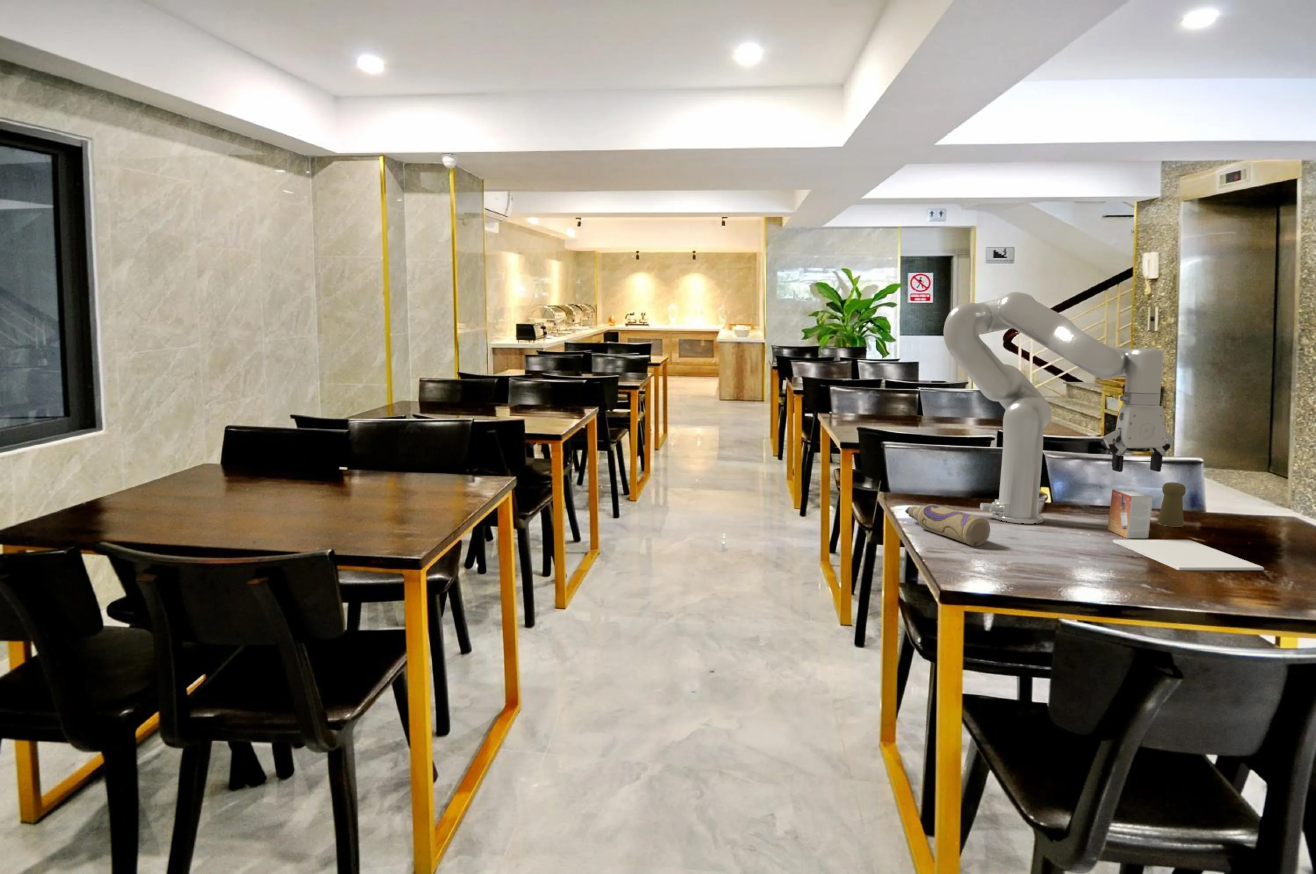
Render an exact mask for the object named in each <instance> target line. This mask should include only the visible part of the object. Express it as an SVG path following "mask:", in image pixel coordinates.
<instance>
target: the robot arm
mask: <svg viewBox="0 0 1316 874" xmlns="http://www.w3.org/2000/svg"><path fill="white" fill-rule="evenodd" d="M943 326H944V327H943V339H944V343H945V346H946V348H947V351H948V352H949V354H950V355H951V357H952V358H953V359H954V360H955V361H956V363H957V364H958V365H959V366H960V367H961V368H962V369H961V370H963V371H964V373H965V374H966V376H968V378H969V379H970V380H971V381H972V382H973V383H974V385H975V386H976V387H977V389H978V390H979V391H980V392H981V394H982V395H983V397H985V398H986V399H988V400H989V401H992V402H999V404H1000V405H1001V406H1002V407H1003V409H1004V410H1005V411H1004V413H1003V417H1002V436H1003V437H1002V452H1001V453H1002V455H1001V469H1000V479H999V483H1000V484H999V493H998V494H999V496H998V499H995V498H994V501H992V502H991V503H988V502H986V503H985V502H980V505H979V509H980V511H987V512H988V511H989V512H991V515H992V516H991V517H992V518H993V519H995V520H998V519H999V521H1001V520H1002V522H1006V521H1007V523H1014V524H1021V523H1024V524H1023V525H1025V524H1027V525H1030V524H1031V525H1034V523H1036V524H1040V523H1043V522H1045V521H1044V520H1045V517H1044V516H1043V515H1042V514H1040V513H1039V501H1040V489H1041V487H1040V486H1041V476H1042V465H1043V454H1044V453H1043V452H1044V451H1043V449H1044V428H1046V427H1047V426H1048V425H1049V424H1050V422H1051V419H1052V415H1053V411H1052V407H1051V405H1050V404H1049V402H1048V400H1047V399H1046V398H1045V396H1043V394H1042V393H1041V392H1040V391H1039V390H1038V389H1037V388H1036V386H1034V384H1033V383H1032V382H1031V381H1030V380H1029V379H1028V377H1027V376H1026V375H1025V374H1024V373H1023V372H1022V371H1021V370H1020V369H1019V368H1017V367H1016V366H1014V365H1010V364H1004V363H1003V362H1002V360H1000V358H999V357H997V355H996V354H995V353H994V352H993V350H992V349H991V348H990V346H988V345H987V344H986V343H985V342H984V340H982V339H981V337H980V335H985V334H990V333H994V332H1000V331H1005V330H1006V331H1007V330H1009V329H1014V330H1016V331H1018V332H1019V333H1021V334H1023V335H1025V336H1026V337H1028V338H1030V339H1031V340H1034V341H1035V342H1036V343H1039V344H1040V345H1041V346H1043V347H1045V348H1046V349H1048V350H1049V351H1051V352H1052V353H1054V354H1056V355H1057V356H1060V357H1061V358H1063V359H1064V360H1067V361H1068V362H1069V363H1071V364H1073V365H1074V366H1076V367H1078V368H1080V369H1082V370H1083V371H1085V372H1087V373H1088V374H1090V375H1092V376H1094V377H1095V378H1099V379H1102V380H1106V379H1112V378H1117V377H1118V378H1119V377H1120V378H1121V377H1125V383H1124V393H1123V394H1122V395H1120V396H1119V400H1120V402H1123V405H1121V406H1120V409H1119V412H1118V416H1117V420H1116V427H1115V430H1114V431H1111V432H1109V433H1107V434H1106V435H1104V436H1103V438H1102V439H1103V442H1104V443H1105V447H1106V449H1107V450H1108V451H1109V453H1110V454H1111V455H1112V458H1111V470H1112V471H1114V472H1117V473H1122V472H1123V469H1124V459H1125V458H1124V457H1125V456H1124V455H1122V454H1123V453H1124V452H1125V451H1126V450H1127V448H1128V449H1151V451H1152V452H1153V453H1151V454H1150V462H1149V464H1150V465H1149V470H1150V471H1153V472H1159V473H1160V472H1162V466H1163V456H1165V455H1166V454H1167V451H1168V450H1170V448H1171V445H1172V444H1173V442H1174V440H1175V437H1174V435H1172V434H1170V433H1169V432H1166V422H1165V419H1166V418H1165V412H1164V407H1163V406H1161V405H1160V402H1161V392H1162V391H1161V389H1162V381H1163V380H1162V377H1163V365H1164V364H1163V363H1164V353H1163V351H1162V350H1161V349H1159V348H1150V347H1149V348H1147V347H1146V348H1143V347H1142V348H1141V347H1140V348H1138V347H1137V348H1125V347H1124V348H1123V347H1118V346H1109V345H1107V344H1105V343H1103V342H1101V341H1100V340H1098V339H1096V338H1094V337H1093V336H1091V335H1089V334H1088V333H1086V332H1084V331H1083V330H1081V329H1080V328H1079V327H1077V326H1076V325H1075V323H1073V322H1072V320H1071V319H1069V318H1068V317H1066V316H1065V315H1062V314H1060V313H1059V312H1058V311H1055V310H1053V309H1051V308H1049V306H1046V305H1045V304H1043V303H1041V302H1040V301H1037V300H1036V299H1035V298H1034V297H1033V296H1032V295H1030V294H1028V293H1025V292H1019V291H1014V292H1013V291H1011V292H1009V293H1007V294H1005V295H1004V296H1003V297H1001V298H997V299H992V300H988V301H984V302H978V303H977V302H963V303H960V304H958V305H956V306H955V307H954V308H952V309H951V311H950V312H948V315H947V317H946V319H945V321H944V325H943ZM1113 440H1114V442H1115V444H1114V442H1113Z"/></svg>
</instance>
